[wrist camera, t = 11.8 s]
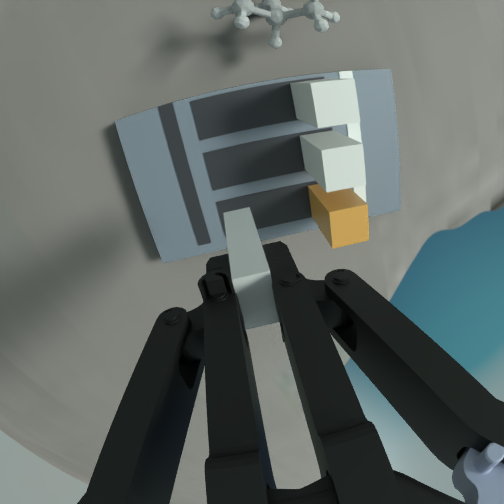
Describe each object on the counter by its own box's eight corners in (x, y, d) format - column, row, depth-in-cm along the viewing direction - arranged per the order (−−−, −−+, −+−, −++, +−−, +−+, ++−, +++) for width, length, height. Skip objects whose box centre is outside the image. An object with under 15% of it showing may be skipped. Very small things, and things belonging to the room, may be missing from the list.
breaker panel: (165, 252, 32) (152, 305, 24) (121, 118, 25) (85, 133, 17) (391, 202, 31) (434, 239, 24) (380, 69, 24) (432, 70, 17)
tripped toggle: (312, 216, 29) (332, 248, 23) (307, 185, 27) (329, 212, 22) (342, 210, 29) (368, 240, 23) (340, 179, 27) (367, 204, 22)
